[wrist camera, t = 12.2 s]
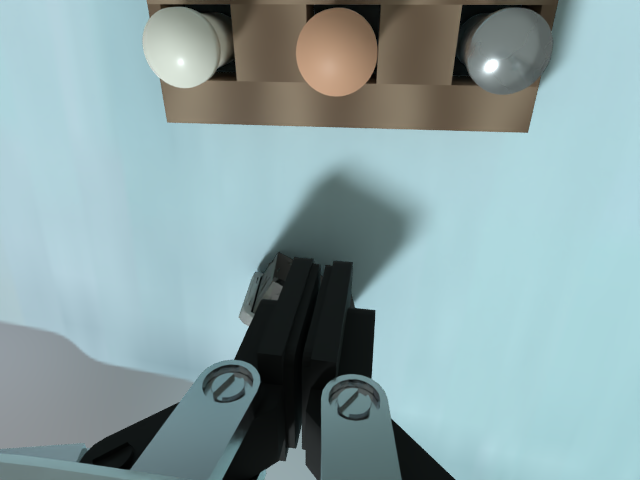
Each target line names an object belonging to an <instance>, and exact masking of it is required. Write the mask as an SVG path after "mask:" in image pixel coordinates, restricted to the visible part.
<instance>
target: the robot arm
mask: <svg viewBox="0 0 640 480" xmlns="http://www.w3.org/2000/svg"><path fill="white" fill-rule="evenodd" d="M352 270H353V262H343V261H334V262H333V266H331V265H326V266H325V270H324V274H323V278H322V282H321V286H320V281H321V265H320V264H314V259H309V258H298V257H295V258H294V259H293V262H292V264H291V267H290V270H289V272H288V275H287V277H286V280H285V282H284V285H283V287H282V290H281V293H280V295H279V298H278V300H270V299H262V300H261V301H260V303H259V305H258V308H257V310H256V312H255V314H254V317H253V319H252V321H251V323H250V326H249V328H248V330H247V332H246V334H245V337H244V339H243V341H242V343H241V346H240V348H239V350H238V352H237V355H236V357H235V359H234V360H226V361H221V362H218V363H215V364H213V365H211V366H210V367H208V368H207V369H205V370H204V371H203V372H202V373H201V374H200V375H199V377H198V378H197V379H196V381H195V382H194V384H193V385H192V386H191V388H190V389H189V390H188V392H187V393H186V394H185V396H184V397H183V398H182V400H181V401H180V402H179V403H177V404H175V405H172V406H170V407H168V408H166V409H164V410H162V411H160V412H158V413H156V414H154V415H152V416H150V417H148V418H145V419H143V420H141V421H139V422H137V423H135V424H133V425H131V426H129V427H127V428H125V429H123V430H121V431H119V432H117V433H114V434H112V435H110V436H108V437H106V438H104V439H103V440H101V441H99V442H98V443H96V444H95V445H93V447H91V448H86V446H85V444H84V443H79V444H65V445H51V446H37V447H23V448H9V449H0V480H265V476H266V469H267V468H268V467H270V466H271V465H273V464H275V463H276V462H278V461H279V460H280V461H286V457H287V453H288V448H296V447H297V443H298V438H299V434H300V429H301V425H302V449H304V450H306V466H307V467H308V468H309V470H310V471H311V472H312V474H313V475H314V476H315V477H316V479H317V480H455V479H454V478H453V477H452V476H451V475H450V474H449V473H448V472H447V471H446V470H445V469H444V468H443V467H442V466H440V465H439V464H438V463H437V462H436V461H435V460H434V459H433V458H432V457H431V456H430V455H429V454H428V453H427V452H426V451H425V450H424V449H423V448H422V447H421V446H419V445H418V444H417V443H416V442H415V441H414V440H413V439H412V438H411V437H410V436H409V435H408V434H407V433H406V432H405V431H404V430H403V429H402V428H401V427H400V426H398V425H397V424H396V423H395V422H394V421H393V420H392V419H391V416H390V410H389V404H388V399H387V396H386V393H385V391H384V390H383V389H382V387H381V386H380V385H379V384H378V383H377V382H375V381H374V380H372V379H371V378H372V361H373V344H374V326H375V310H368V309H358V308H350V302H351V286H352Z"/></svg>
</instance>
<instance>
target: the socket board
mask: <svg viewBox="0 0 640 480" xmlns="http://www.w3.org/2000/svg"><path fill="white" fill-rule="evenodd" d="M147 4H148V10H149V16H150V17H151V16H152V15H153V14H154V13H156V12H157V11H159V10H161V9H164V8H168V7H185V4H230V7H231V18H232V30H233V41H234V53H235V64H236V72H215V73H214V75H213V76H212V77H211V78H210V79H209V80H207V81H206V82H204V83H202V84H200V85H198V86H195V87H191V88H179V87H175V86H172V85H170V84H168V83H166V82H164V81H163V80H162V79H160V82H161V88H162V94H163V100H164V106H165V112H166V117H167V122H172V123H207V124H242V125H277V126H312V127H347V128H382V129H417V130H453V131H488V132H523V133H528V130H529V126H530V121H531V117H532V113H533V108H534V104H535V100H536V95H537V91H538V87H539V82H540V78H541V76H540V77H539V78H538V79H537V80H536V81H535V82H534V83H533V84H531V85H530V86H528V87H527V88H525V89H523V90H521V91H519V92H516V93H513V94H507V95H499V94H493V93H490V92H487V91H486V90H484V89H482V88H481V87H480V86H479V85H477V84H476V83H475V82H474V81H473V80H472V78H471V77H470V76H452V75H453V68H454V61H455V54H456V46H457V39H458V32H459V25H460V18H461V10H462V5H521V8H525V9H529V10H532V11H534V12H536V13H538V14H539V15H541V16H542V17H543V18H544V19H545V21H546V22H547V23H548V25H549V27H550V30H551V31H552V26H553V22H554V18H555V13H556V9H557V5H558V0H147ZM314 4H360V5H380V19H379V36H378V53H377V70H376V74H372V75H371V77H370V78H369V80H368V81H367V82H366V83H365V84H364V85H363V86H362V87H361V88H360V89H358V90H357V91H355V92H353V93H351V94H348V95H345V96H328V95H324V94H322V93H320V92H318V91H316V90H315V89H313V88H312V87H311V86H310V85H309V84H308V83H307V82H306V81H305V80H304V78H303V76H302V75H301V73H300V71H299V68H298V65H297V60H296V46H297V41H298V37H299V35H300V32H301V30H302V29H303V27H304V26H305V24H306V23H307V22H308V21H309V20H310V19H311V18H312V17H313V16H314Z"/></svg>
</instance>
